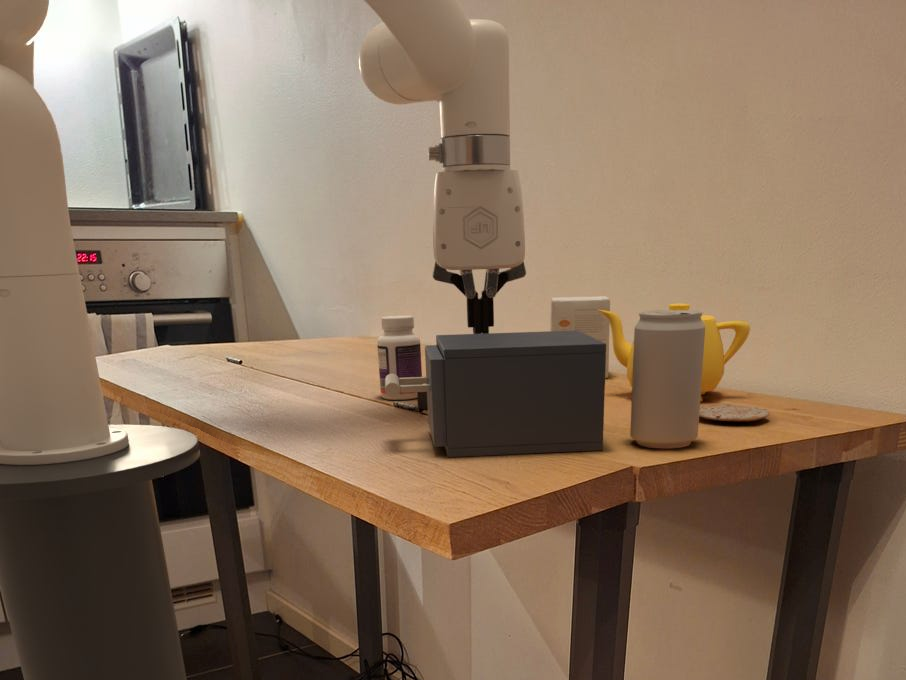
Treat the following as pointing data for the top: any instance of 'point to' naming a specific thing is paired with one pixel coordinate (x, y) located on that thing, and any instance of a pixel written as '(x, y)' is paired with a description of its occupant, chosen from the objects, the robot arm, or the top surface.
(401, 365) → the pill bottle
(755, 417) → the flatbread
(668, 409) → the beverage can
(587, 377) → the cabinet
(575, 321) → the small box
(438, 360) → the drawer
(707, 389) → the teapot
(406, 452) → the top surface
